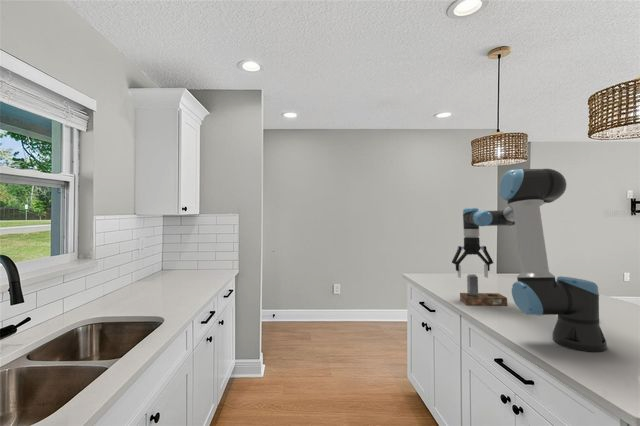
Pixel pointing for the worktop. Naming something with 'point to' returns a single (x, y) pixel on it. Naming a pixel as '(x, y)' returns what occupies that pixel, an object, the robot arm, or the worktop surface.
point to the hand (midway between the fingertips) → (472, 277)
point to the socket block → (484, 299)
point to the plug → (472, 285)
